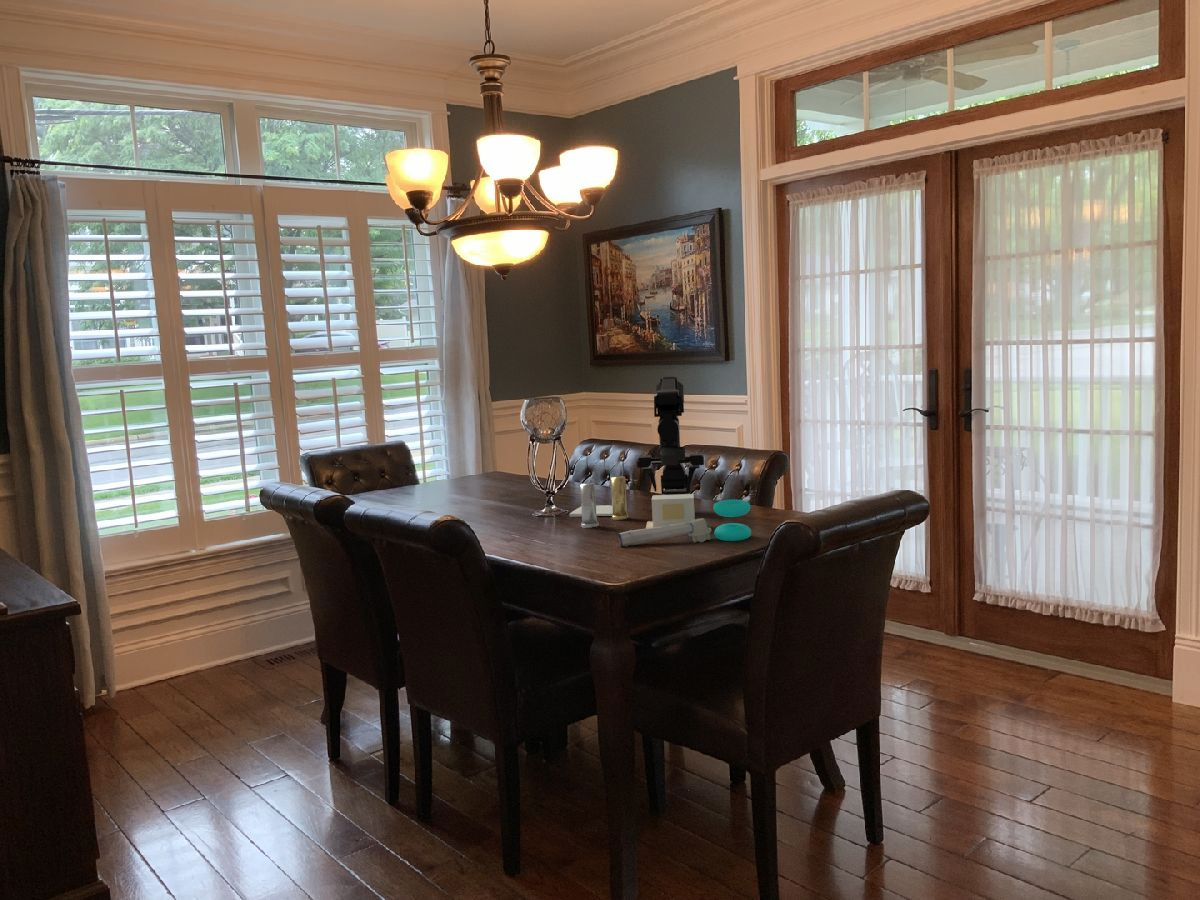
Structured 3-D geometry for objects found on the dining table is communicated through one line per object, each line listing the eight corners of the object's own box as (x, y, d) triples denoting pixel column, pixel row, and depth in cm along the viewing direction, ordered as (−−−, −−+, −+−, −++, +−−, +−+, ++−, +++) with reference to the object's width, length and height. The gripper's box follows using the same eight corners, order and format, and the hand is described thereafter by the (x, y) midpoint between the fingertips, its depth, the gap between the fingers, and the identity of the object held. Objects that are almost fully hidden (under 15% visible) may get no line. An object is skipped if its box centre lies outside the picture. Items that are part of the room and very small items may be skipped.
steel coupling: (602, 526, 286) (599, 483, 285) (589, 529, 283) (587, 485, 281) (590, 524, 290) (587, 481, 288) (577, 527, 286) (575, 484, 285)
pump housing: (647, 524, 285) (646, 493, 284) (701, 522, 283) (700, 491, 282) (645, 532, 273) (644, 500, 272) (702, 530, 272) (700, 498, 271)
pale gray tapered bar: (616, 530, 260) (706, 512, 261) (621, 554, 261) (710, 535, 262) (618, 534, 255) (709, 515, 256) (623, 558, 256) (714, 539, 257)
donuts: (745, 505, 253) (708, 505, 256) (746, 542, 254) (710, 541, 258) (754, 498, 262) (718, 498, 266) (755, 534, 263) (720, 533, 267)
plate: (623, 508, 313) (622, 505, 313) (612, 516, 300) (611, 513, 300) (582, 508, 317) (582, 505, 317) (569, 516, 303) (569, 513, 303)
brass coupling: (632, 518, 296) (629, 476, 294) (620, 521, 292) (618, 479, 291) (620, 516, 299) (617, 475, 298) (608, 519, 296) (606, 477, 294)
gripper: (634, 440, 261) (637, 496, 263) (703, 437, 259) (705, 494, 261) (636, 436, 272) (639, 490, 274) (702, 433, 270) (705, 487, 272)
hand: (671, 490), depth 270 cm, fingers open, 9 cm apart
